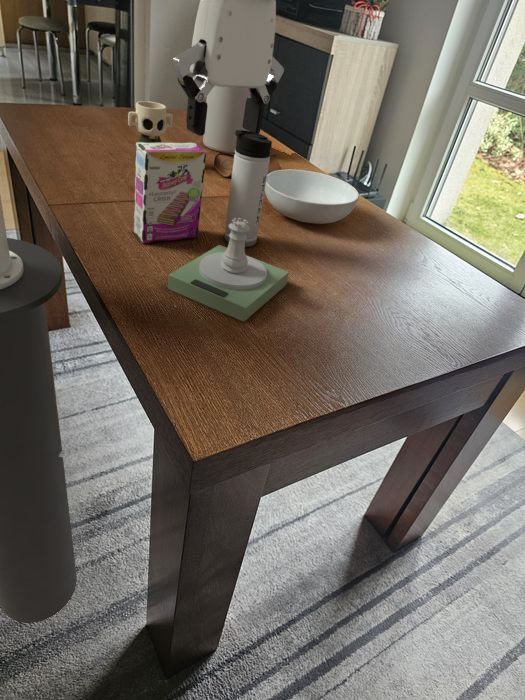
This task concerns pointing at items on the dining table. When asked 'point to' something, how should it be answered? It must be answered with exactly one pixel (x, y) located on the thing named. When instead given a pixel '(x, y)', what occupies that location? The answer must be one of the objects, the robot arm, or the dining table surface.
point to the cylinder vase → (224, 117)
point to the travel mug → (248, 182)
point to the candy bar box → (168, 190)
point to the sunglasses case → (225, 161)
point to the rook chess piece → (236, 248)
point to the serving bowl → (310, 195)
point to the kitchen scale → (228, 284)
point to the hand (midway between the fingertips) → (224, 131)
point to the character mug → (150, 120)
